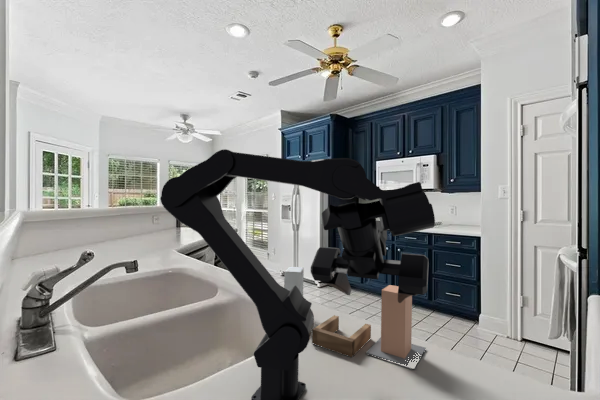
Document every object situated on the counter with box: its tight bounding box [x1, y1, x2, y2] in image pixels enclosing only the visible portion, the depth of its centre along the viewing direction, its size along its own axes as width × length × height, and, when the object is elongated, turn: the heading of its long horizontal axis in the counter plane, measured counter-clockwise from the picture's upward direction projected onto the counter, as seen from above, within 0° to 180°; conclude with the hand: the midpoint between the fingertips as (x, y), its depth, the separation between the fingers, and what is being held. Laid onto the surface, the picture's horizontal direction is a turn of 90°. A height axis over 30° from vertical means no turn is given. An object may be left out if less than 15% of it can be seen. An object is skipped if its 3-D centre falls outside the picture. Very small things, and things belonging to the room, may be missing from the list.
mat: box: [365, 336, 427, 366], centre depth 59 cm, size 9×9×1 cm
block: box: [380, 284, 413, 359], centre depth 59 cm, size 5×5×12 cm
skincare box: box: [283, 266, 305, 297], centre depth 77 cm, size 6×4×12 cm
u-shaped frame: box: [311, 314, 372, 358], centre depth 63 cm, size 10×9×3 cm
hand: (373, 296), depth 54 cm, fingers open, 9 cm apart
